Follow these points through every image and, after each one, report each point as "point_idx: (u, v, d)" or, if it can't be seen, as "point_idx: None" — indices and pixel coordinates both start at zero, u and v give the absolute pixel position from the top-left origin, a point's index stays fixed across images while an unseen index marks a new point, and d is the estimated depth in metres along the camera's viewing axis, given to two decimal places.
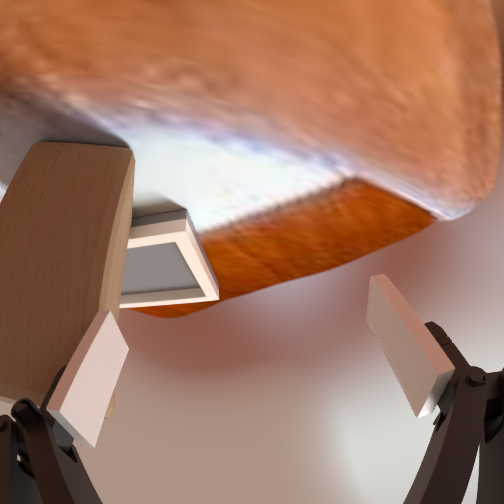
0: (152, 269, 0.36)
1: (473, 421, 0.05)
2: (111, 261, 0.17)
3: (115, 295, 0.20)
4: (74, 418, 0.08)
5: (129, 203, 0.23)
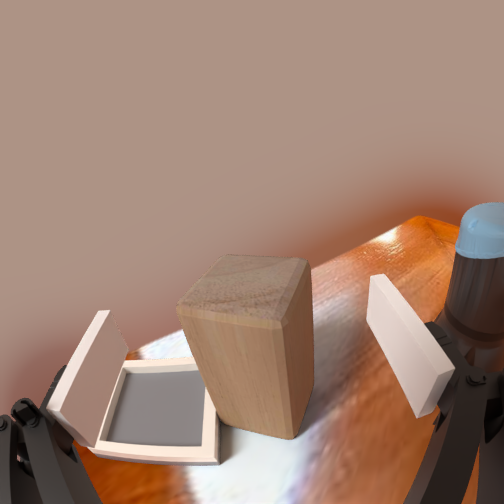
0: (153, 416, 0.33)
1: (473, 421, 0.05)
2: (281, 396, 0.24)
3: (238, 385, 0.26)
4: (74, 418, 0.08)
5: (259, 426, 0.29)
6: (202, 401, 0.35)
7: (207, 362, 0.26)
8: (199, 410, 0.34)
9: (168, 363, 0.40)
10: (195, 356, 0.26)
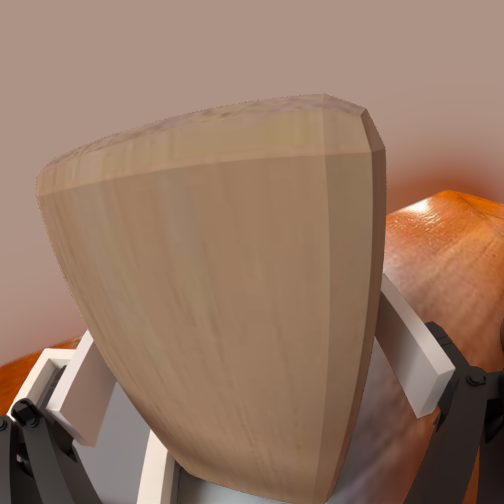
0: (74, 440, 0.16)
1: (473, 421, 0.05)
2: (321, 446, 0.08)
3: (201, 417, 0.09)
4: (74, 418, 0.08)
5: (257, 488, 0.12)
6: None
7: (114, 350, 0.09)
8: (144, 442, 0.17)
9: None
10: (90, 332, 0.09)
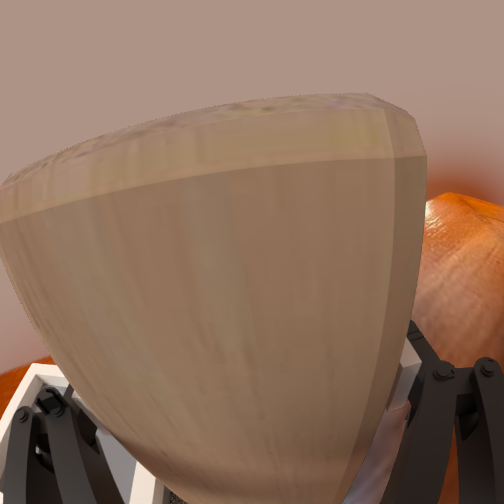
0: None
1: (443, 416, 0.06)
2: (352, 452, 0.07)
3: (218, 453, 0.08)
4: None
5: None
6: None
7: (108, 401, 0.07)
8: (132, 468, 0.15)
9: None
10: (74, 384, 0.07)
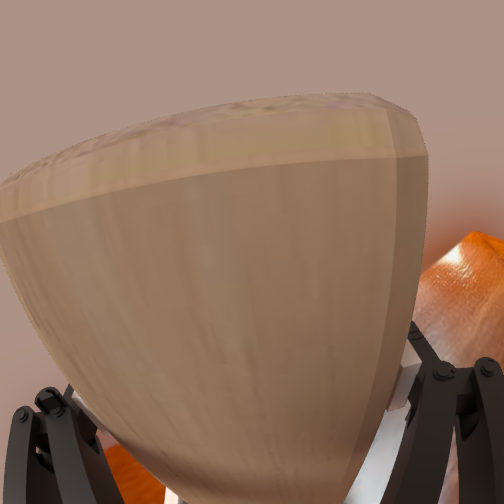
0: None
1: (443, 416, 0.06)
2: (353, 452, 0.07)
3: (219, 454, 0.08)
4: None
5: None
6: None
7: (108, 402, 0.07)
8: None
9: None
10: (74, 385, 0.07)
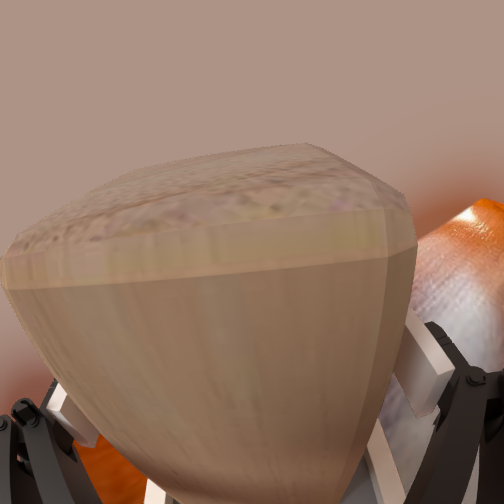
0: None
1: (473, 421, 0.05)
2: (344, 467, 0.08)
3: (226, 472, 0.08)
4: (74, 418, 0.08)
5: None
6: None
7: (125, 434, 0.07)
8: None
9: None
10: (92, 420, 0.07)
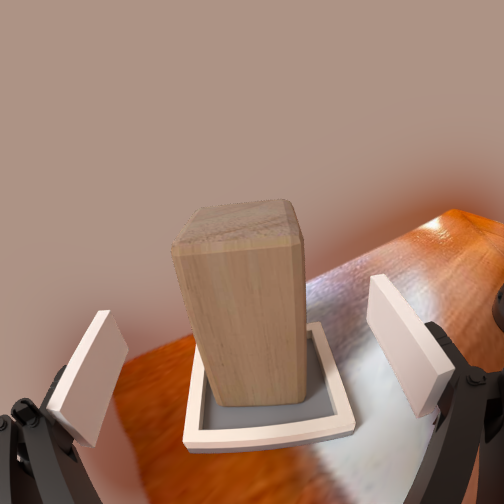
0: None
1: (473, 421, 0.05)
2: (296, 339, 0.24)
3: (245, 339, 0.24)
4: (74, 418, 0.08)
5: (266, 394, 0.27)
6: (315, 370, 0.33)
7: (207, 317, 0.23)
8: (315, 380, 0.31)
9: None
10: (193, 312, 0.23)
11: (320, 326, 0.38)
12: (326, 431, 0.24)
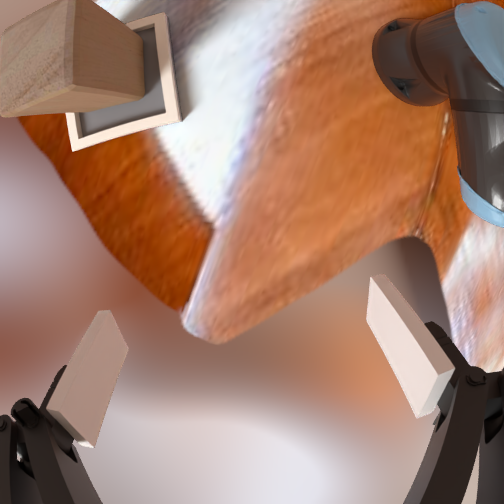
0: None
1: (473, 421, 0.05)
2: (111, 95, 0.25)
3: (77, 104, 0.25)
4: (74, 418, 0.08)
5: (112, 104, 0.32)
6: (156, 62, 0.32)
7: (45, 111, 0.22)
8: (155, 72, 0.33)
9: None
10: (36, 114, 0.22)
11: (163, 18, 0.28)
12: (158, 125, 0.35)
